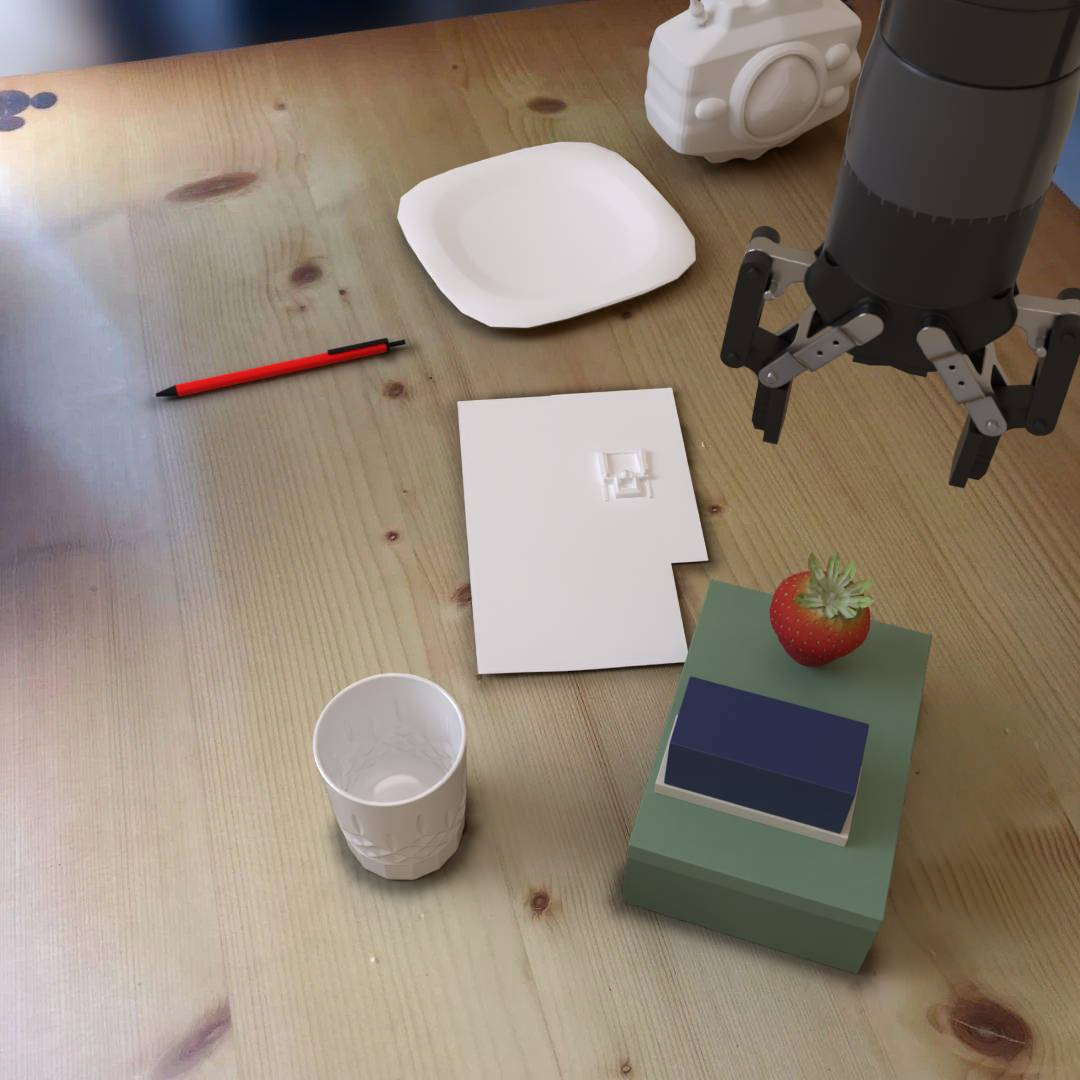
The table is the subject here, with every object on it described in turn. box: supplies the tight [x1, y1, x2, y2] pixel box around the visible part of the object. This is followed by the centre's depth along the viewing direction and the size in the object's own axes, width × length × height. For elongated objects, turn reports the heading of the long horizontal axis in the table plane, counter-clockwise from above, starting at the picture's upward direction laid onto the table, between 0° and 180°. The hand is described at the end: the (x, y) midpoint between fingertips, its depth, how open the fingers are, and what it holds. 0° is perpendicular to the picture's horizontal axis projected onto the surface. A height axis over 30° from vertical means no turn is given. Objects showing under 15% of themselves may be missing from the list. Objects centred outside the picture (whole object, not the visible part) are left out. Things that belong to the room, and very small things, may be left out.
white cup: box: [312, 672, 468, 881], centre depth 71 cm, size 8×8×10 cm
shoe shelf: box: [621, 578, 933, 975], centre depth 73 cm, size 13×18×7 cm
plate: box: [396, 141, 697, 330], centre depth 108 cm, size 22×22×2 cm
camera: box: [643, 0, 862, 164], centre depth 110 cm, size 11×18×16 cm, turn 114°
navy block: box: [654, 676, 869, 847], centre depth 67 cm, size 10×4×5 cm, turn 72°
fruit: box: [769, 550, 875, 667], centre depth 70 cm, size 5×5×8 cm
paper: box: [456, 387, 709, 675], centre depth 88 cm, size 25×17×1 cm
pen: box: [152, 337, 406, 398], centre depth 98 cm, size 1×19×1 cm, turn 108°
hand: (865, 452), depth 60 cm, fingers open, 8 cm apart
